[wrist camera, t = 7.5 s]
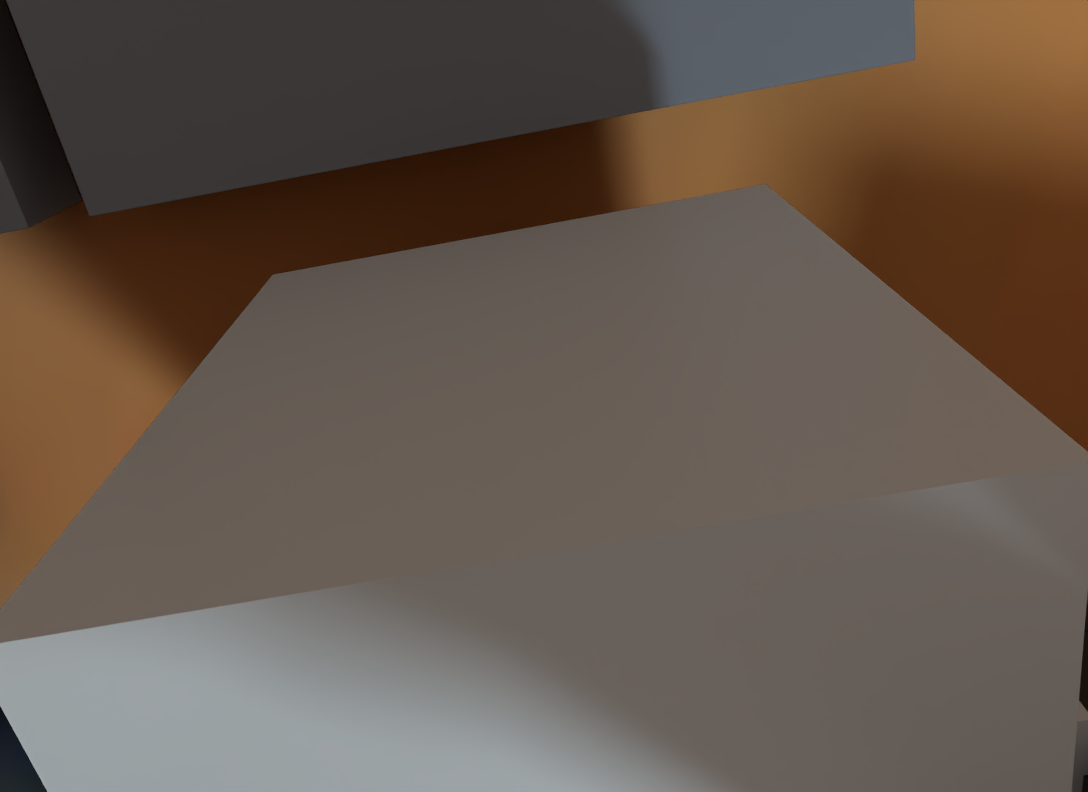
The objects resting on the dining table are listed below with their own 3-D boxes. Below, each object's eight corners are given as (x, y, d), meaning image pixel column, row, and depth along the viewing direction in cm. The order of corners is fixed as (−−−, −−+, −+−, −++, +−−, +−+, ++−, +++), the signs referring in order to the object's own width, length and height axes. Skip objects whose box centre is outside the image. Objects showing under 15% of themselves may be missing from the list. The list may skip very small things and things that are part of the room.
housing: (805, 685, 16) (1034, 1247, 9) (420, 745, 17) (346, 1334, 10) (765, 184, 13) (1098, 460, 5) (272, 274, 13) (-32, 649, 6)
